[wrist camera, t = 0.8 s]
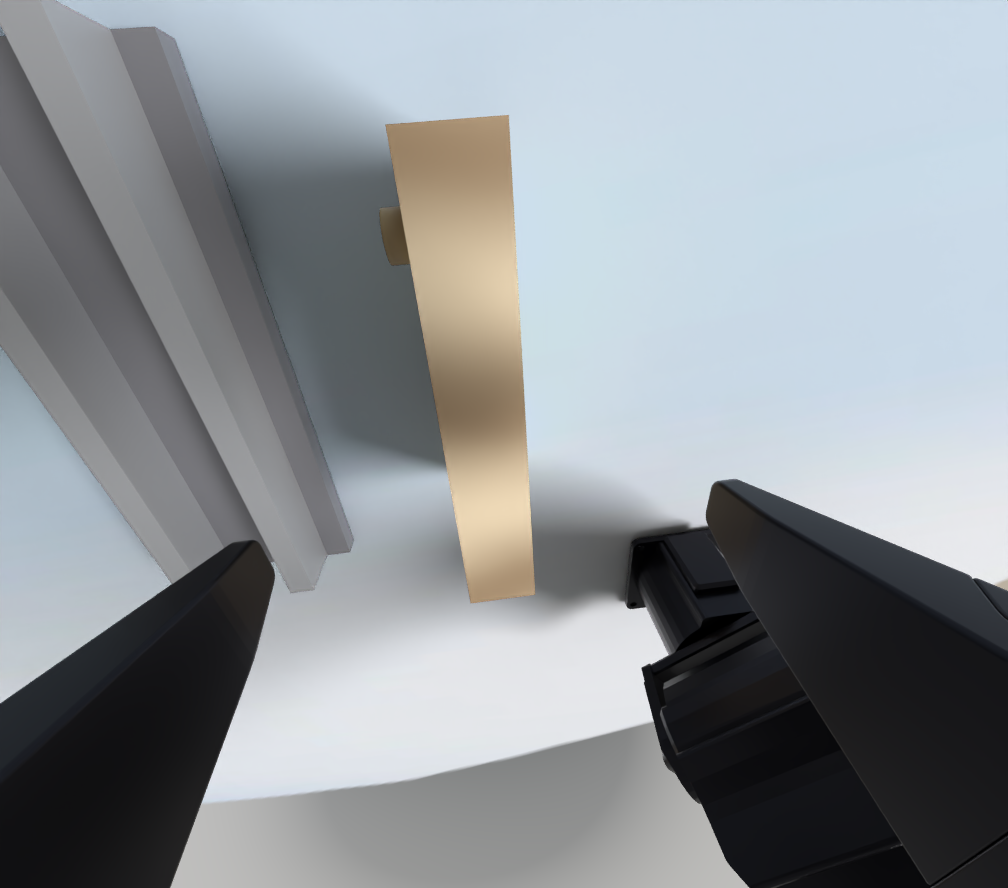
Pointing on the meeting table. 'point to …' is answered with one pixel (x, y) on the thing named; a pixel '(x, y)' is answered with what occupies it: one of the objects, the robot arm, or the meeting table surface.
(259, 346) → the door track
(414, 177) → the door panel
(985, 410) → the meeting table surface
